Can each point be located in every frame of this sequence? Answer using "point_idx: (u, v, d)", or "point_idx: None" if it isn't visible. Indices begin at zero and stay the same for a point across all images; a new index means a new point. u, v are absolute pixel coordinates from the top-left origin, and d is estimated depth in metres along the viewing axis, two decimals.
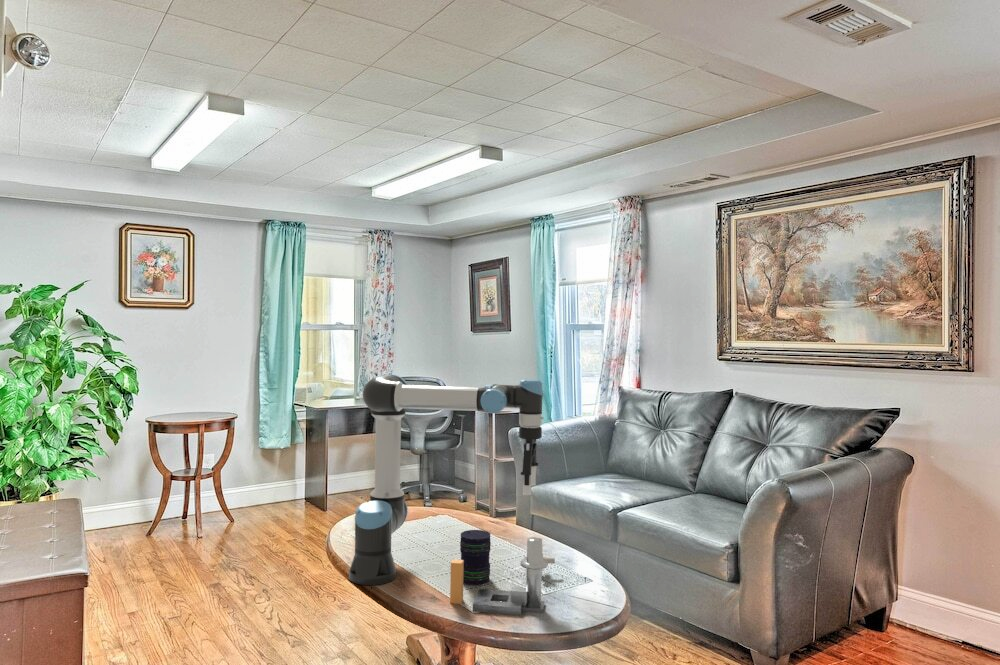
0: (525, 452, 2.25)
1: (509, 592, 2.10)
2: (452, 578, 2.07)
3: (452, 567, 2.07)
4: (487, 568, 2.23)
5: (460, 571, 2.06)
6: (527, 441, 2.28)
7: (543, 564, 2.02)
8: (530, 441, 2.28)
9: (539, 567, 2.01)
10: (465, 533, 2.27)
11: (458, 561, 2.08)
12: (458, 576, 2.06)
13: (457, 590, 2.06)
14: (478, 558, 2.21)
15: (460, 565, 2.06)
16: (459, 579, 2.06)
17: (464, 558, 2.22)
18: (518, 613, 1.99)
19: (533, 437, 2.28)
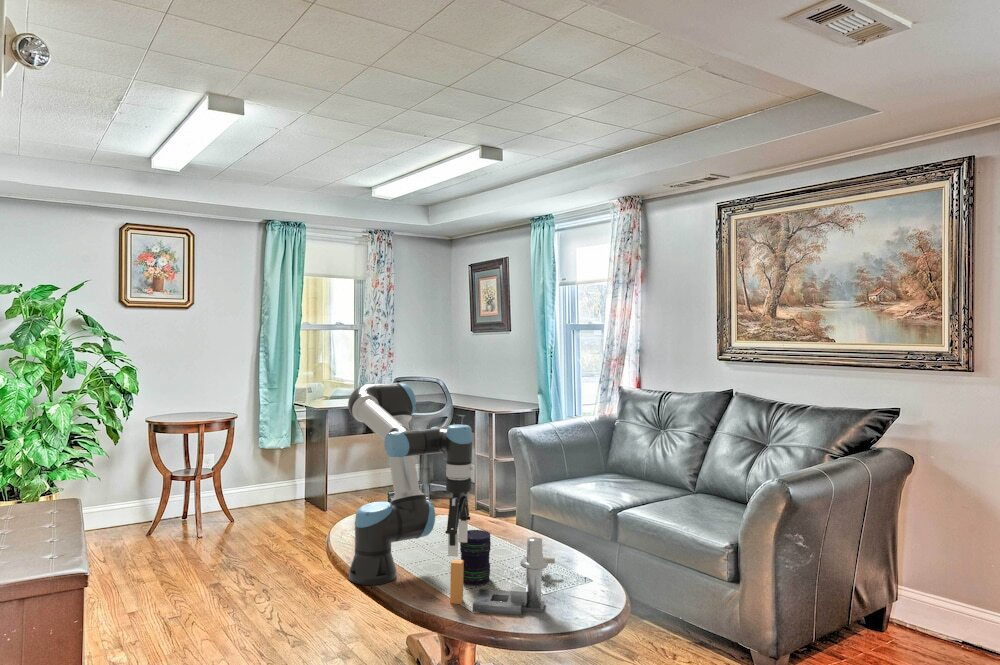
0: (450, 508, 2.01)
1: (509, 592, 2.10)
2: (452, 578, 2.07)
3: (452, 567, 2.07)
4: (487, 568, 2.23)
5: (460, 571, 2.06)
6: (454, 495, 2.04)
7: (543, 564, 2.02)
8: (457, 495, 2.04)
9: (539, 567, 2.01)
10: None
11: (458, 561, 2.08)
12: (458, 576, 2.06)
13: (457, 590, 2.06)
14: (478, 558, 2.21)
15: (460, 565, 2.06)
16: (459, 579, 2.06)
17: (464, 558, 2.22)
18: (518, 613, 1.99)
19: (461, 490, 2.04)
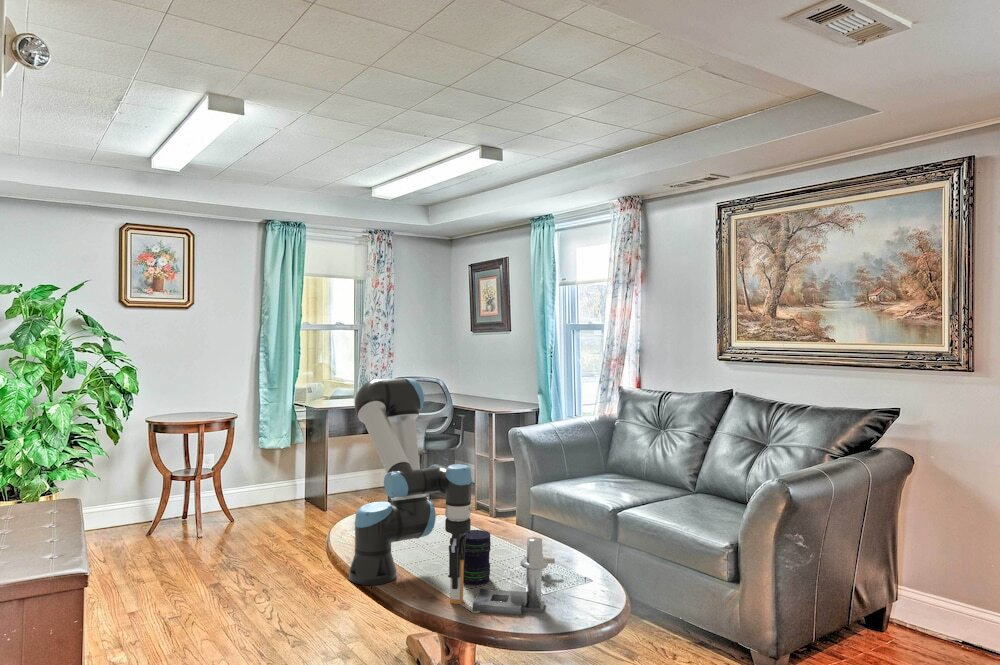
0: (451, 555, 2.02)
1: (509, 592, 2.10)
2: None
3: None
4: (487, 568, 2.23)
5: (460, 571, 2.06)
6: (453, 536, 2.04)
7: (543, 564, 2.02)
8: (456, 536, 2.04)
9: (539, 567, 2.01)
10: (465, 533, 2.27)
11: None
12: None
13: None
14: (478, 558, 2.21)
15: (460, 565, 2.06)
16: None
17: None
18: (518, 613, 1.99)
19: (460, 532, 2.04)
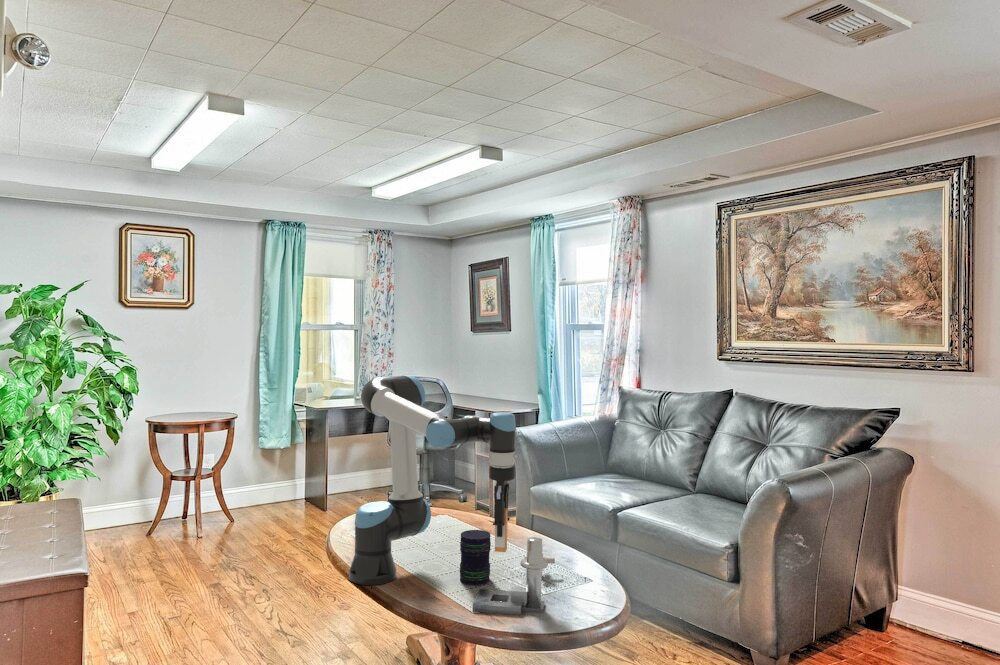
0: (496, 502, 2.00)
1: (509, 592, 2.10)
2: None
3: None
4: (487, 568, 2.23)
5: (505, 519, 2.04)
6: (498, 483, 2.02)
7: (543, 564, 2.02)
8: (501, 483, 2.02)
9: (539, 567, 2.01)
10: (465, 533, 2.26)
11: None
12: None
13: None
14: (478, 558, 2.21)
15: (505, 513, 2.04)
16: None
17: (464, 558, 2.22)
18: (518, 613, 1.99)
19: (505, 478, 2.02)
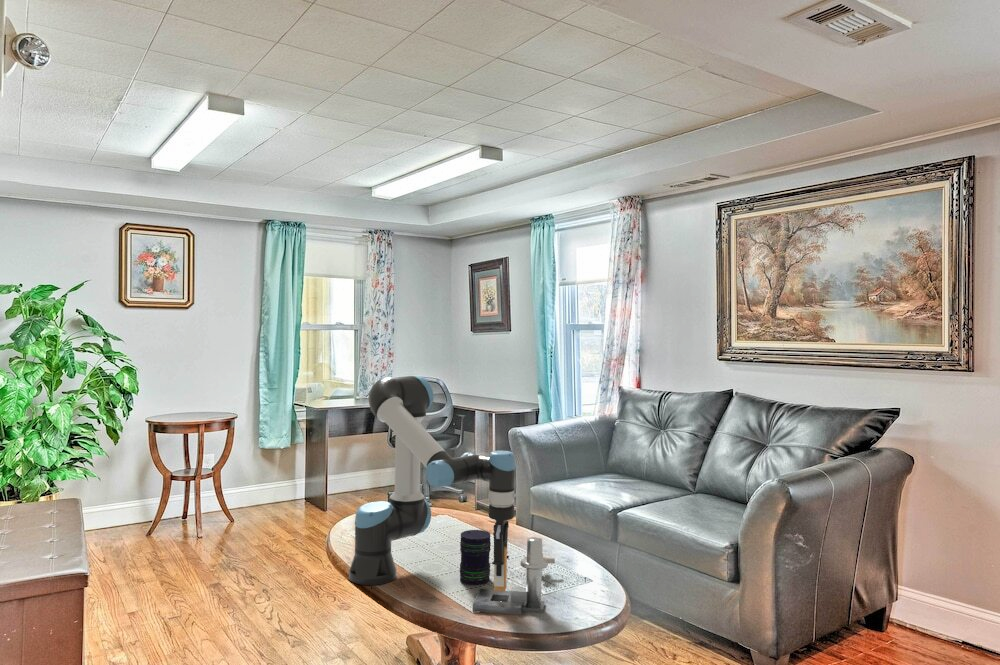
0: (495, 541, 2.00)
1: (509, 592, 2.10)
2: None
3: None
4: (487, 568, 2.23)
5: (504, 558, 2.04)
6: (497, 522, 2.02)
7: (543, 564, 2.02)
8: (501, 522, 2.02)
9: (539, 567, 2.01)
10: (465, 533, 2.26)
11: None
12: None
13: None
14: (478, 558, 2.21)
15: (504, 552, 2.04)
16: None
17: (464, 558, 2.22)
18: (518, 613, 1.99)
19: (504, 518, 2.02)
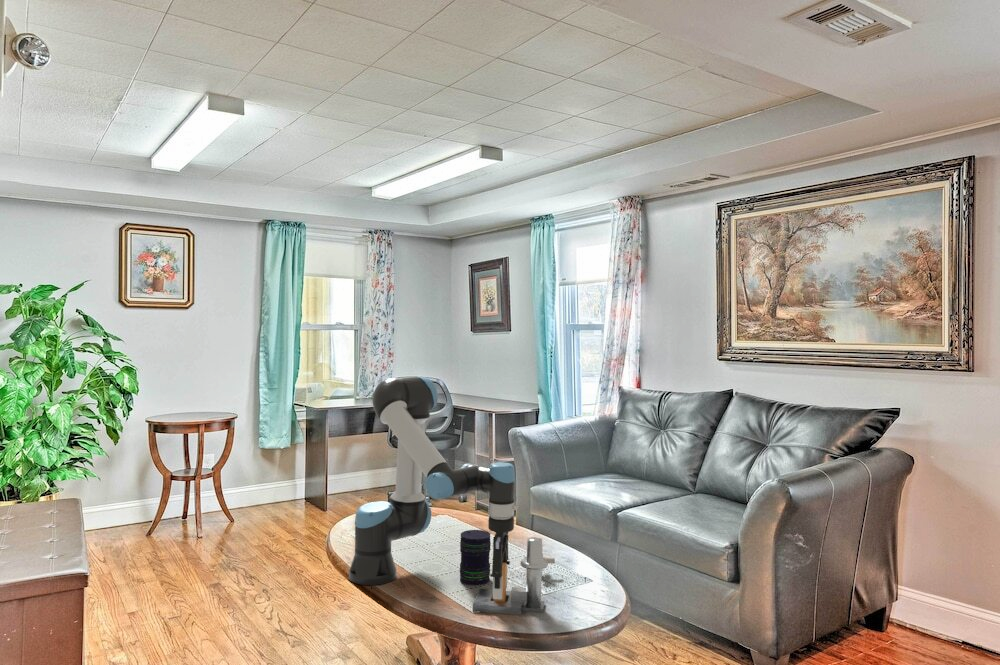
0: (494, 551, 1.99)
1: (509, 592, 2.10)
2: None
3: None
4: (487, 568, 2.23)
5: (504, 574, 2.04)
6: (497, 534, 2.02)
7: (543, 564, 2.02)
8: (500, 535, 2.02)
9: (539, 567, 2.01)
10: (465, 533, 2.26)
11: None
12: None
13: None
14: (478, 558, 2.21)
15: (504, 568, 2.04)
16: (503, 582, 2.04)
17: (464, 558, 2.22)
18: (518, 613, 1.99)
19: (504, 530, 2.02)
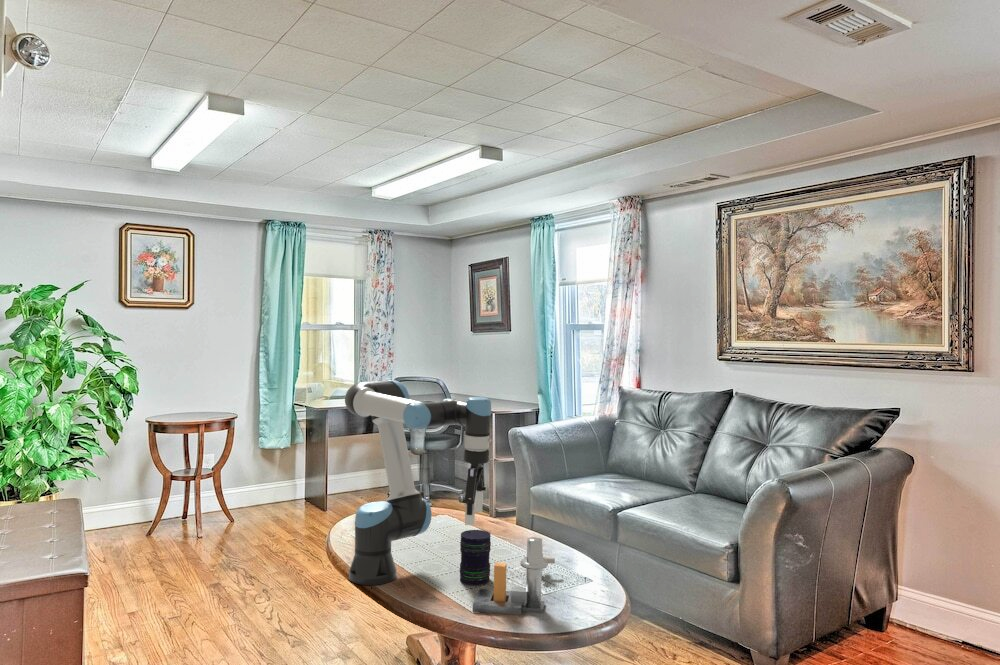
0: (469, 478, 2.04)
1: (509, 592, 2.10)
2: (495, 581, 2.05)
3: (495, 570, 2.05)
4: (487, 568, 2.23)
5: (503, 574, 2.04)
6: (472, 466, 2.07)
7: (543, 564, 2.02)
8: (475, 466, 2.07)
9: (539, 567, 2.01)
10: (465, 533, 2.26)
11: (501, 564, 2.06)
12: (502, 579, 2.04)
13: (500, 593, 2.04)
14: (478, 558, 2.21)
15: (503, 568, 2.04)
16: (502, 582, 2.04)
17: (464, 558, 2.22)
18: (518, 613, 1.99)
19: (479, 461, 2.07)
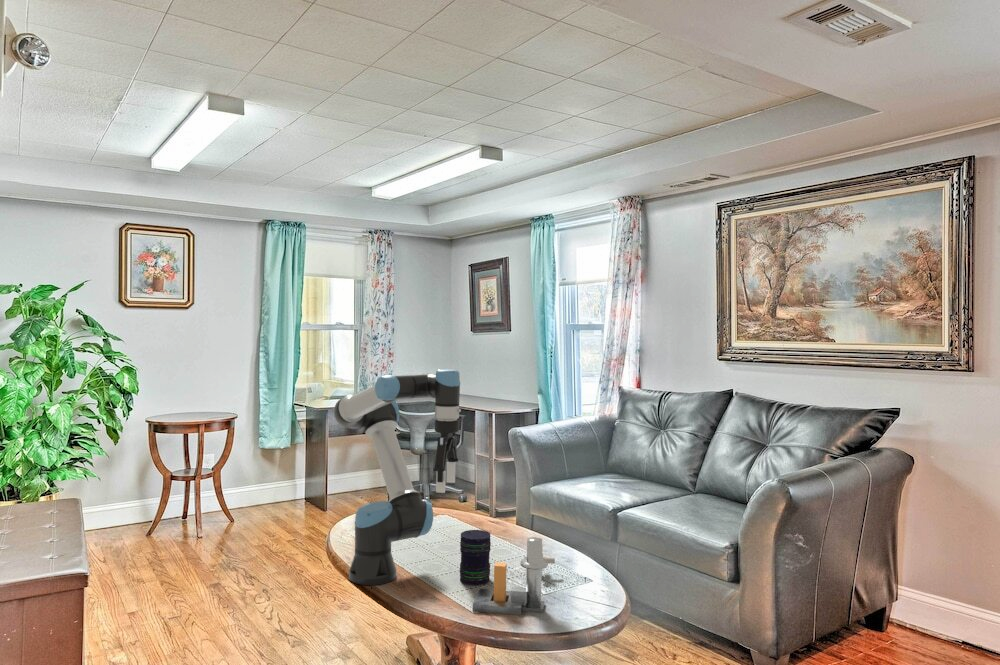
0: (438, 447, 2.10)
1: (509, 592, 2.10)
2: (495, 581, 2.05)
3: (495, 570, 2.05)
4: (487, 568, 2.23)
5: (504, 574, 2.04)
6: (442, 435, 2.14)
7: (543, 564, 2.02)
8: (445, 435, 2.14)
9: (539, 567, 2.01)
10: (465, 533, 2.26)
11: (501, 564, 2.06)
12: (502, 579, 2.04)
13: (500, 593, 2.04)
14: (478, 558, 2.21)
15: (504, 568, 2.04)
16: (503, 582, 2.04)
17: (464, 558, 2.22)
18: (518, 613, 1.99)
19: (448, 431, 2.14)
